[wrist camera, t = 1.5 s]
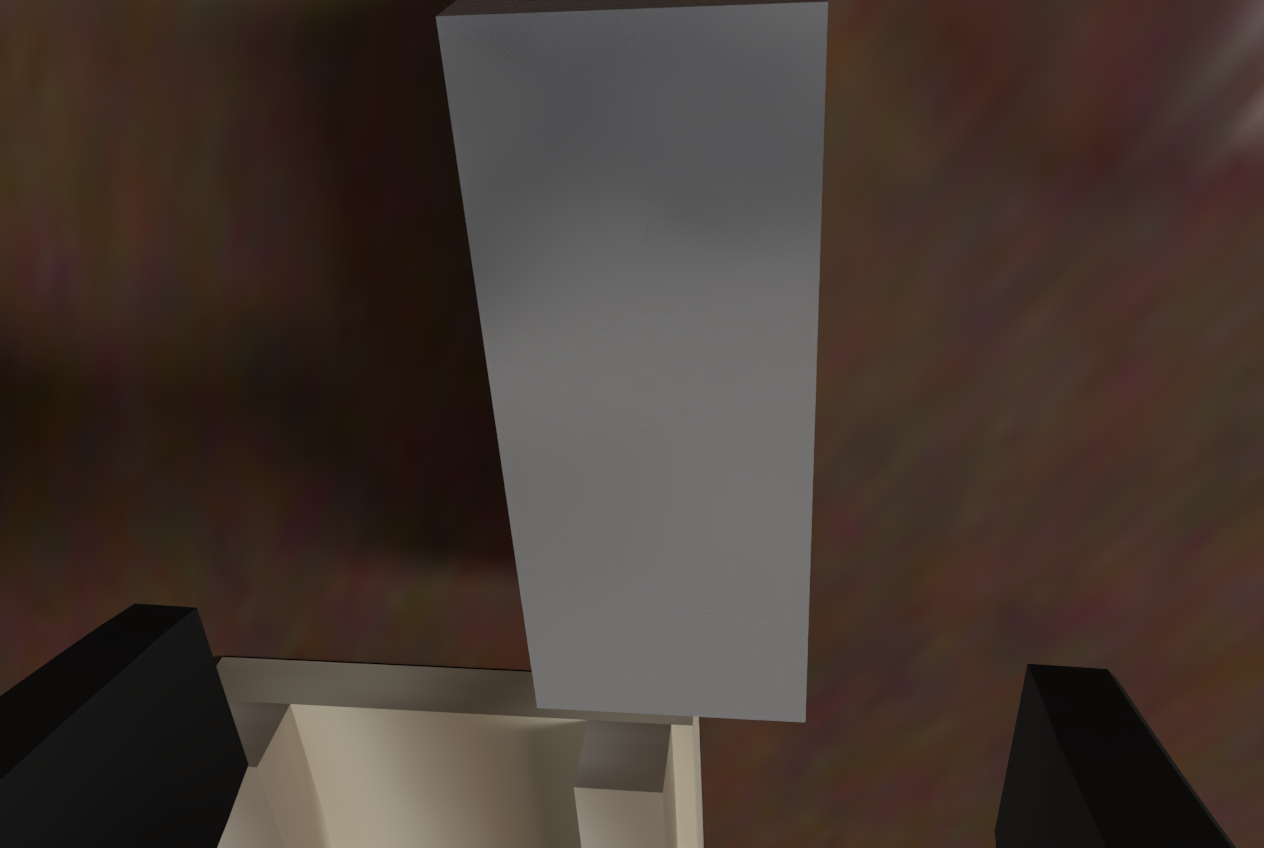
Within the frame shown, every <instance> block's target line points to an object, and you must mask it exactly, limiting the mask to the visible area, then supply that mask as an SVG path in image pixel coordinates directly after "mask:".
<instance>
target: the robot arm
mask: <svg viewBox="0 0 1264 848" xmlns="http://www.w3.org/2000/svg"><path fill="white" fill-rule="evenodd" d="M248 765H249V764H248V761H247V758H246V755H245V752H244V749H243V746H242V743H241V740H240V737H239V734H238V731H237V728H236V725H235V722H234V719H233V716H232V713H231V710H230V707H229V704H228V701H227V698H226V695H225V692H224V689H223V686H222V683H221V679H220V676H219V673H218V670H217V667H216V664H215V661H214V658H213V655H212V652H211V649H210V646H209V643H208V640H207V637H206V634H205V631H204V628H203V625H202V622H201V619H200V616H199V613H198V610H197V608H192V607H177V606H162V605H147V604H134V605H132V606H130V607H129V608H127V609H126V610H124V611H123V612H121V613H119V614H118V615H116V616H115V617H113V618H112V619H110V620H108V621H107V622H105V623H104V624H102V625H101V626H100V627H98V628H97V629H95V630H94V631H92V632H91V633H89V634H88V635H86V636H85V637H83V638H82V639H81V640H79V641H78V642H76V643H75V644H73V645H72V646H70V647H69V648H68V649H66V650H65V651H63V652H62V653H60V654H59V655H58V656H56V657H55V658H53V659H52V660H50V661H49V662H48V663H46V664H45V665H43V666H42V667H41V668H39V669H38V670H36V671H35V672H34V673H32V674H31V675H29V676H28V677H27V678H25V679H24V680H22V681H21V682H20V683H18V684H17V685H15V686H14V687H12V688H11V689H10V690H8V691H7V692H5V693H4V694H3V695H1V696H0V848H217V847H218V844H219V842H220V839H221V837H222V834H223V832H224V830H225V827H226V825H227V822H228V819H229V817H230V814H231V811H232V808H233V806H234V803H235V800H236V798H237V795H238V792H239V789H240V787H241V784H242V781H243V779H244V776H245V773H246V770H247V768H248ZM995 838H996V848H1236V847H1235V846H1234V844H1233V843H1232V842H1231V840H1230V839H1229V838H1228V836H1227V835H1226V834H1225V832H1224V831H1223V830H1222V828H1221V827H1220V826H1219V824H1218V823H1217V822H1216V820H1215V819H1214V817H1213V816H1212V815H1211V813H1210V812H1209V810H1208V809H1207V808H1206V806H1205V805H1204V804H1203V802H1202V801H1201V799H1200V798H1199V797H1198V795H1197V794H1196V792H1195V791H1194V790H1193V788H1192V787H1191V785H1190V784H1189V783H1188V781H1187V780H1186V778H1185V777H1184V776H1183V774H1182V773H1181V771H1180V770H1179V769H1178V767H1177V766H1176V764H1175V763H1174V761H1173V760H1172V759H1171V757H1170V756H1169V754H1168V753H1167V751H1166V750H1165V749H1164V747H1163V746H1162V744H1161V743H1160V741H1159V740H1158V738H1157V737H1156V736H1155V734H1154V733H1153V731H1152V730H1151V728H1150V727H1149V725H1148V724H1147V722H1146V721H1145V719H1144V718H1143V716H1142V715H1141V714H1140V712H1139V711H1138V709H1137V708H1136V706H1135V705H1134V703H1133V702H1132V700H1131V699H1130V697H1129V696H1128V694H1127V693H1126V691H1125V690H1124V688H1123V687H1122V685H1121V684H1120V682H1119V681H1118V680H1117V679H1116V678H1115V677H1114V676H1113V675H1112V674H1111V673H1110V671H1109V670H1108V669H1096V668H1081V667H1067V666H1052V665H1037V664H1028V665H1027V670H1026V675H1025V680H1024V685H1023V690H1022V695H1021V700H1020V706H1019V711H1018V716H1017V721H1016V726H1015V731H1014V736H1013V741H1012V746H1011V751H1010V756H1009V762H1008V767H1007V772H1006V777H1005V782H1004V787H1003V792H1002V797H1001V802H1000V807H999V812H998V818H997V823H996V828H995Z"/></svg>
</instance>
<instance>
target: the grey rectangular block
mask: <svg viewBox="0 0 1264 848" xmlns="http://www.w3.org/2000/svg"><path fill="white" fill-rule="evenodd" d="M827 15H828V0H456V1H455V2H454V3H452V4H451V5H450V6H448V7H447V8H446V9H445V10H443V11H442V12H441V13H439V14H438V15H437V16H436V22H437V29H438V36H439V43H440V49H441V56H442V63H443V70H444V77H445V83H446V90H447V97H448V104H449V111H450V118H451V124H452V131H453V138H454V145H455V152H456V158H457V165H458V172H459V179H460V186H461V192H462V199H463V206H464V213H465V220H466V226H467V233H468V240H469V247H470V254H471V260H472V267H473V274H474V281H475V288H476V295H477V301H478V308H479V315H480V322H481V329H482V335H483V342H484V349H485V356H486V363H487V369H488V376H489V383H490V390H491V397H492V403H493V410H494V417H495V424H496V431H497V438H498V444H499V451H500V458H501V465H502V472H503V478H504V485H505V492H506V499H507V506H508V512H509V519H510V526H511V533H512V540H513V546H514V553H515V560H516V567H517V574H518V580H519V587H520V594H521V601H522V608H523V615H524V621H525V628H526V635H527V642H528V649H529V655H530V662H531V669H532V676H533V683H534V689H535V696H536V703H537V708H545V709H564V710H583V711H601V712H620V713H639V714H657V715H676V716H695V717H713V718H732V719H751V720H769V721H788V722H805V718H806V686H807V654H808V622H809V590H810V558H811V526H812V494H813V462H814V430H815V398H816V367H817V335H818V303H819V271H820V239H821V207H822V175H823V143H824V111H825V79H826V47H827Z"/></svg>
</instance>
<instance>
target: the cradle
mask: <svg viewBox="0 0 1264 848" xmlns="http://www.w3.org/2000/svg"><path fill="white" fill-rule="evenodd" d="M216 667H217V670H218V673H219V676H220V679H221V683H222V686H223V689H224V692H225V695H226V698H227V701H228V704H229V707H230V710H231V713H232V716H233V719H234V722H235V725H236V728H237V731H238V734H239V737H240V740H241V743H242V746H243V749H244V752H245V755H246V758H247V761H248V764H249V765H248V768H247V770H246V773H245V776H244V779H243V781H242V784H241V787H240V789H239V792H238V795H237V798H236V800H235V803H234V806H233V808H232V811H231V814H230V817H229V819H228V822H227V825H226V827H225V830H224V832H223V834H222V837H221V839H220V842H219V844H218V847H217V848H704V842H703V816H702V790H701V763H700V737H699V717H695V716H676V715H657V714H639V713H620V712H601V711H583V710H564V709H545V708H537V703H536V696H535V689H534V683H533V676H532V672H525V671H504V670H483V669H462V668H441V667H421V666H400V665H379V664H358V663H337V662H317V661H296V660H275V659H254V658H233V657H222V658H221V660H220V661H219V663H218V665H217V666H216Z"/></svg>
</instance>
